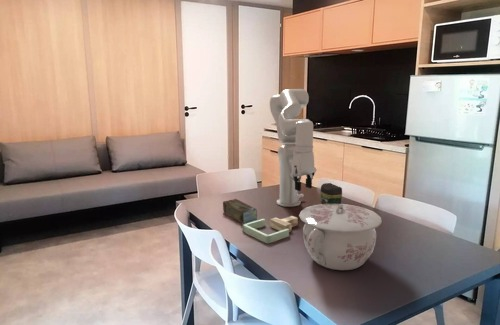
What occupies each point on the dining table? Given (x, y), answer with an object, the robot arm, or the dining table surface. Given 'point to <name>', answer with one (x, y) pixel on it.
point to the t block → (284, 223)
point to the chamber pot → (339, 234)
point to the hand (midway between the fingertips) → (303, 188)
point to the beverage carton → (240, 211)
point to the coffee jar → (330, 194)
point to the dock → (251, 230)
